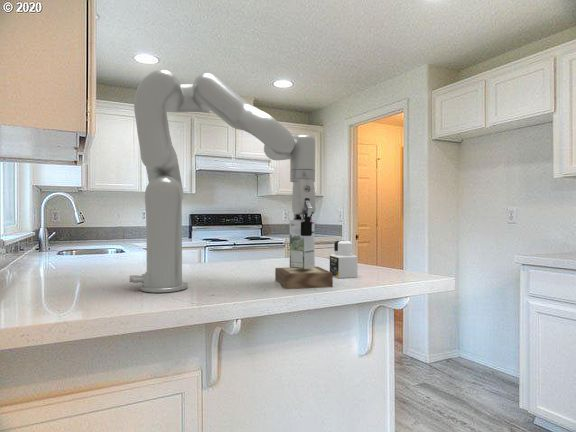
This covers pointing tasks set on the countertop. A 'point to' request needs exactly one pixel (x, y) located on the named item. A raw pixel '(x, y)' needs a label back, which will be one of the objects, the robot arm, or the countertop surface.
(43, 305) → the countertop surface
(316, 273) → the stand
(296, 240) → the syrup box
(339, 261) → the medicine bottle
